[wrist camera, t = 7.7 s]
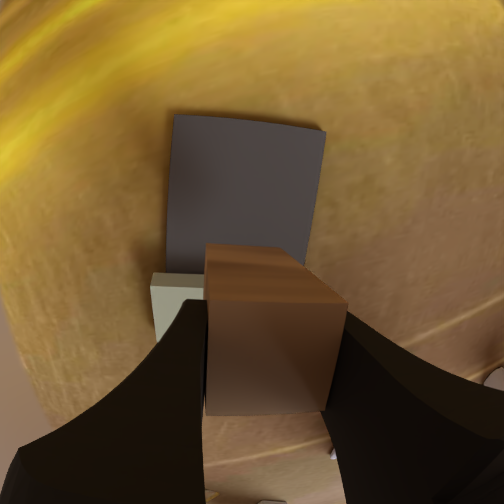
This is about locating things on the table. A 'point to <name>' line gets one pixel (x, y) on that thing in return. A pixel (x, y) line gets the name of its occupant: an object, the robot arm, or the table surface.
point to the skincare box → (271, 502)
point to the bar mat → (239, 187)
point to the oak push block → (267, 333)
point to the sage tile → (172, 296)
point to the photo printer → (496, 379)
